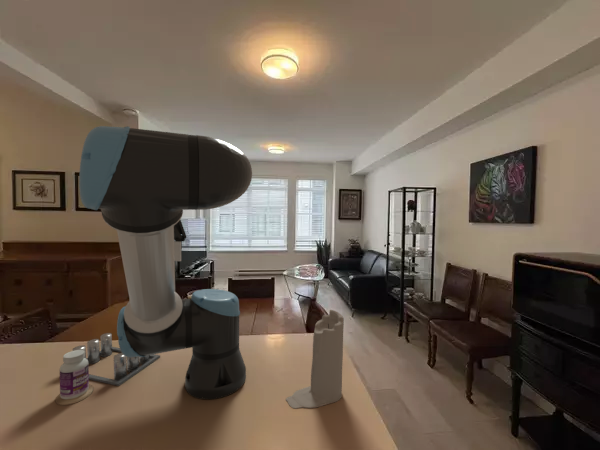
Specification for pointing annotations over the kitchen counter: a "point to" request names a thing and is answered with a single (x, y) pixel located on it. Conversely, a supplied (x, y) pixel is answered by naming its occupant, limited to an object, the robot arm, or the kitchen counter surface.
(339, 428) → the kitchen counter surface
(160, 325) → the robot arm
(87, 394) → the cork coaster
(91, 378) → the parts tray rim
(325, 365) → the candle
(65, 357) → the pill bottle
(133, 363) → the spacers
